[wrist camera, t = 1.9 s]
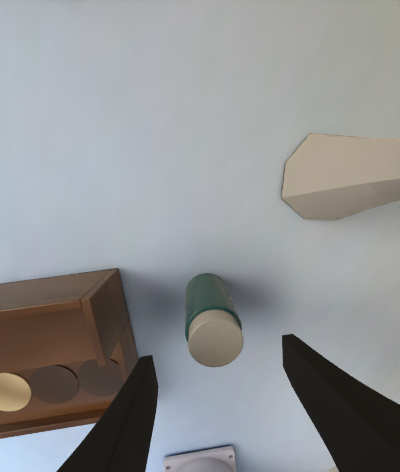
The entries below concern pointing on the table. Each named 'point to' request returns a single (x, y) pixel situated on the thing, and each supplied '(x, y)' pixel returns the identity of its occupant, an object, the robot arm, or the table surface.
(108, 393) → the spice shelf
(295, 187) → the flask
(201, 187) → the table surface
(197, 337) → the cylinder
